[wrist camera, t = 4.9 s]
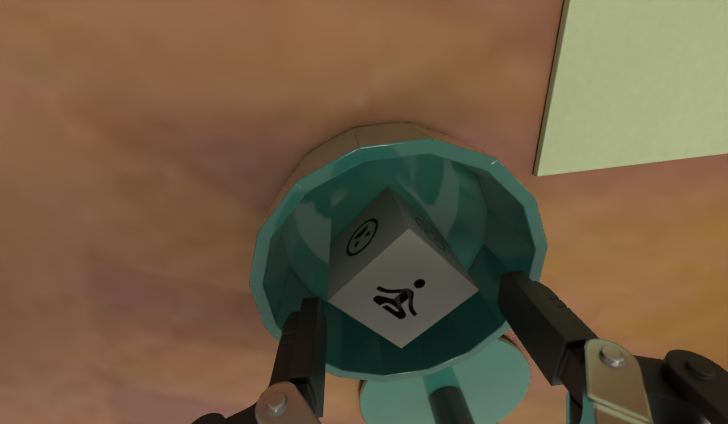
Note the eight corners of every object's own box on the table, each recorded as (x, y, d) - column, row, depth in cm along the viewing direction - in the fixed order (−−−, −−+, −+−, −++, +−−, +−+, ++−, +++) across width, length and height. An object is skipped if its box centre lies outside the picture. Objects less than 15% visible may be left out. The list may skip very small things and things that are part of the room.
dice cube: (330, 242, 17) (327, 301, 12) (388, 185, 16) (409, 228, 11) (386, 283, 19) (401, 348, 14) (442, 236, 17) (479, 290, 13)
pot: (299, 328, 20) (288, 396, 16) (245, 138, 14) (205, 164, 10) (482, 303, 21) (520, 362, 16) (506, 109, 15) (577, 121, 10)
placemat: (532, 174, 16) (536, 176, 16) (596, -182, 10) (606, -192, 10) (753, 147, 17) (762, 149, 17) (940, -208, 11) (960, -218, 10)
